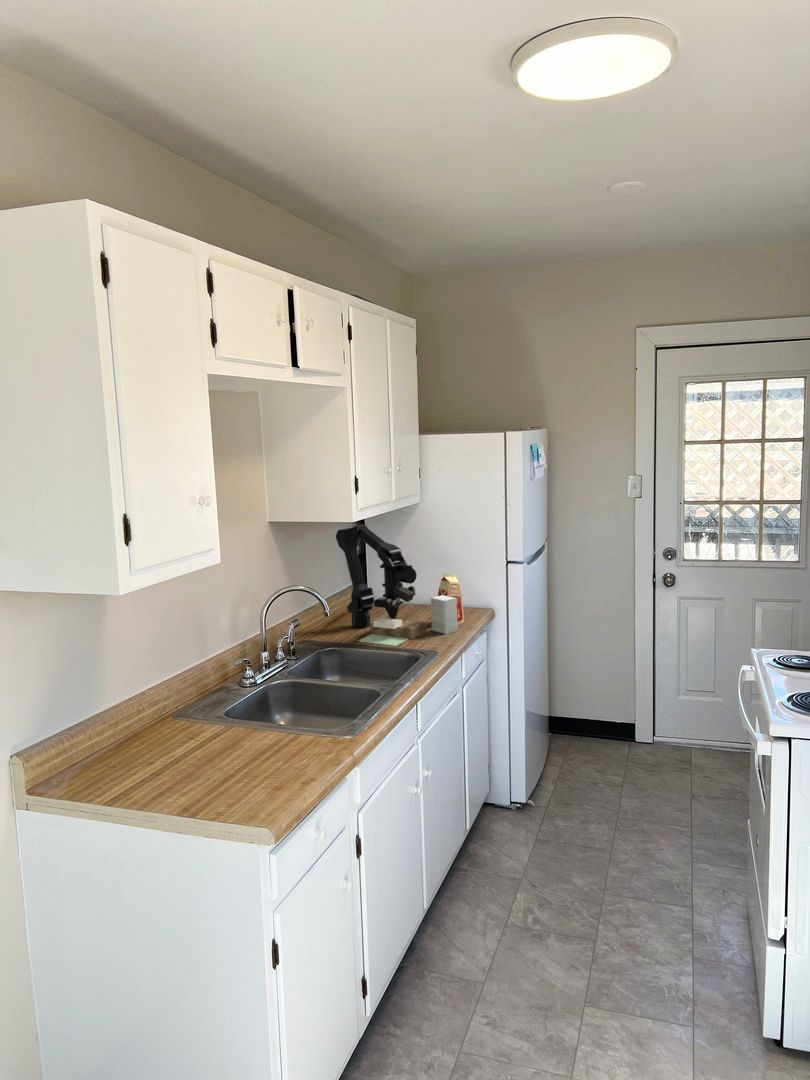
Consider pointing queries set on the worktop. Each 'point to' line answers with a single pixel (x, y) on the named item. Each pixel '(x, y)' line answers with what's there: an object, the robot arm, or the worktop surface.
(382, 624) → the cream white eraser block
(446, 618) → the small box
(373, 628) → the brown wooden block
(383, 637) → the mat
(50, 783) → the worktop surface
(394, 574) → the robot arm
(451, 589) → the milk carton
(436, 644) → the worktop surface
